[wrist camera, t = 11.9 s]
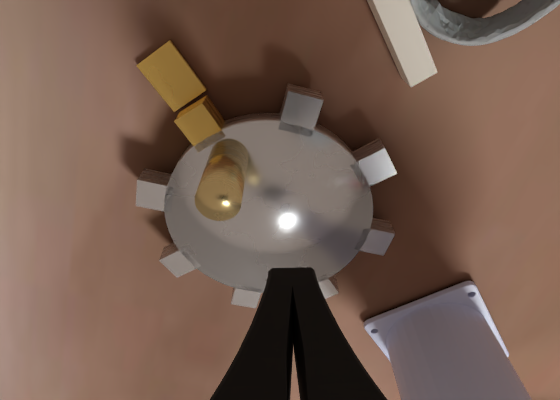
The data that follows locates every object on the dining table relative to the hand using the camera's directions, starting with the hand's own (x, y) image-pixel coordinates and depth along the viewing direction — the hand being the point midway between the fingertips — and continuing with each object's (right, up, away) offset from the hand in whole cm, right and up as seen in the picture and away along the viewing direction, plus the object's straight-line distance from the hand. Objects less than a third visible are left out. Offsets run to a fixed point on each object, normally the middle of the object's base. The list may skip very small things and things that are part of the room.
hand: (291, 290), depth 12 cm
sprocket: (-1, +3, +9) cm, 10 cm away
